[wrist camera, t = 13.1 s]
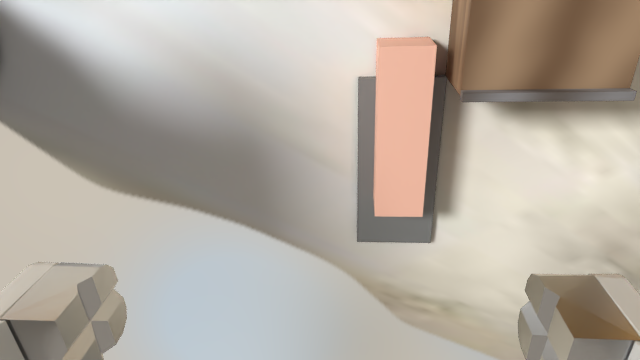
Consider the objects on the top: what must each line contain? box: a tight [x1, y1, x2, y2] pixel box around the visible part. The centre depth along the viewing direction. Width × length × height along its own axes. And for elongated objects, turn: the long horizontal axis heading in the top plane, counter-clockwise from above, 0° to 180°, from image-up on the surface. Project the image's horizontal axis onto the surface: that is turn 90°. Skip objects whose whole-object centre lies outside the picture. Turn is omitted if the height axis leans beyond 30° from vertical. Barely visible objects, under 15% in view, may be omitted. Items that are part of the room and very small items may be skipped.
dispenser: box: [445, 0, 640, 102], centre depth 30 cm, size 11×9×6 cm
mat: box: [357, 76, 447, 243], centre depth 39 cm, size 7×16×1 cm, turn 2°
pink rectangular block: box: [373, 37, 437, 217], centre depth 35 cm, size 4×14×4 cm, turn 2°
